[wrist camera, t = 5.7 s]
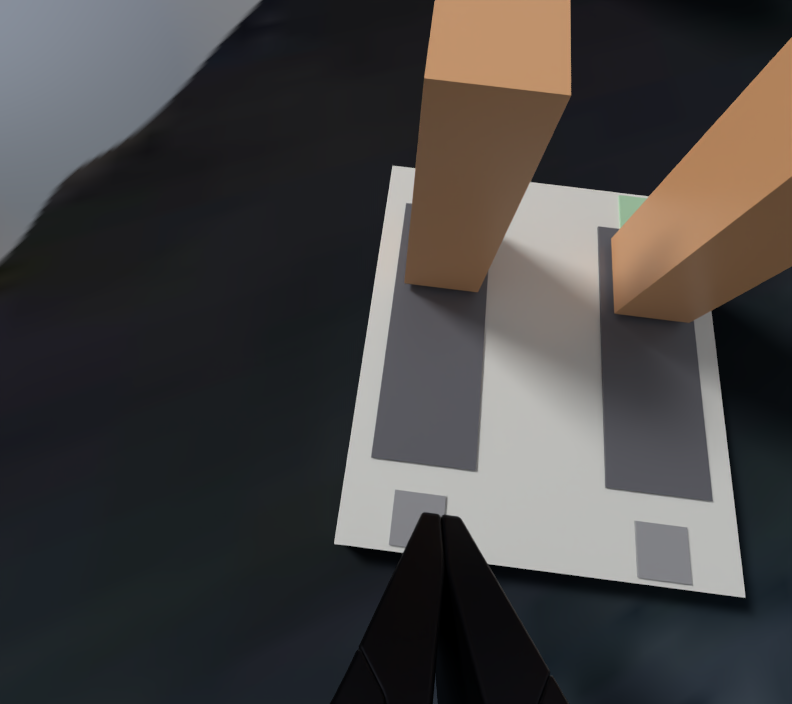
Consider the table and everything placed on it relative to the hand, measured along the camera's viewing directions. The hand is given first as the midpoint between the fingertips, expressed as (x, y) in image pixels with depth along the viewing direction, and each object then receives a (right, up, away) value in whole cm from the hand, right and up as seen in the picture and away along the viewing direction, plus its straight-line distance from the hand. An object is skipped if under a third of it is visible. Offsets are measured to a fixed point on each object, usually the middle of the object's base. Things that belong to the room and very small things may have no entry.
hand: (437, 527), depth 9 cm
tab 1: (+1, +8, +9) cm, 12 cm away
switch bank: (+5, +4, +9) cm, 11 cm away
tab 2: (+10, +7, +8) cm, 14 cm away
